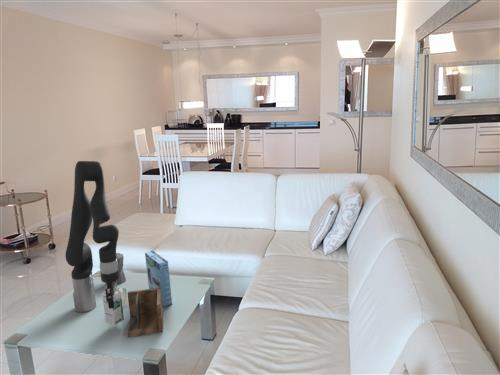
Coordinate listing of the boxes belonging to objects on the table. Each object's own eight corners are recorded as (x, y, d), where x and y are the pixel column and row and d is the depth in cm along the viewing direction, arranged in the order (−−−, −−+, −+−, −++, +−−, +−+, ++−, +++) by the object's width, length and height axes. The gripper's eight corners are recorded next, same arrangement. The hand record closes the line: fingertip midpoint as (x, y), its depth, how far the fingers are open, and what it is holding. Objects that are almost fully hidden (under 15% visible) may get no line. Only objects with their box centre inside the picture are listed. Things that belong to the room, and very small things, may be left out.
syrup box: (114, 326, 175) (111, 296, 172) (105, 322, 178) (101, 293, 175) (124, 320, 180) (121, 291, 177) (115, 316, 183) (112, 288, 180)
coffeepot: (113, 276, 232) (110, 247, 228) (129, 275, 232) (126, 246, 228) (104, 288, 217) (100, 258, 213) (121, 288, 217) (118, 257, 213)
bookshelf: (127, 337, 171) (124, 308, 168) (130, 317, 187) (127, 291, 184) (162, 332, 174) (160, 304, 171) (163, 313, 190) (160, 287, 187)
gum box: (172, 304, 198) (168, 261, 193) (162, 307, 195) (158, 264, 190) (157, 289, 214) (153, 250, 209) (148, 292, 211) (144, 252, 206)
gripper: (103, 263, 180) (106, 296, 183) (97, 277, 166) (101, 312, 169) (120, 262, 181) (123, 294, 185) (116, 275, 167) (119, 310, 171)
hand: (112, 303), depth 177 cm, fingers closed on syrup box, 8 cm apart
